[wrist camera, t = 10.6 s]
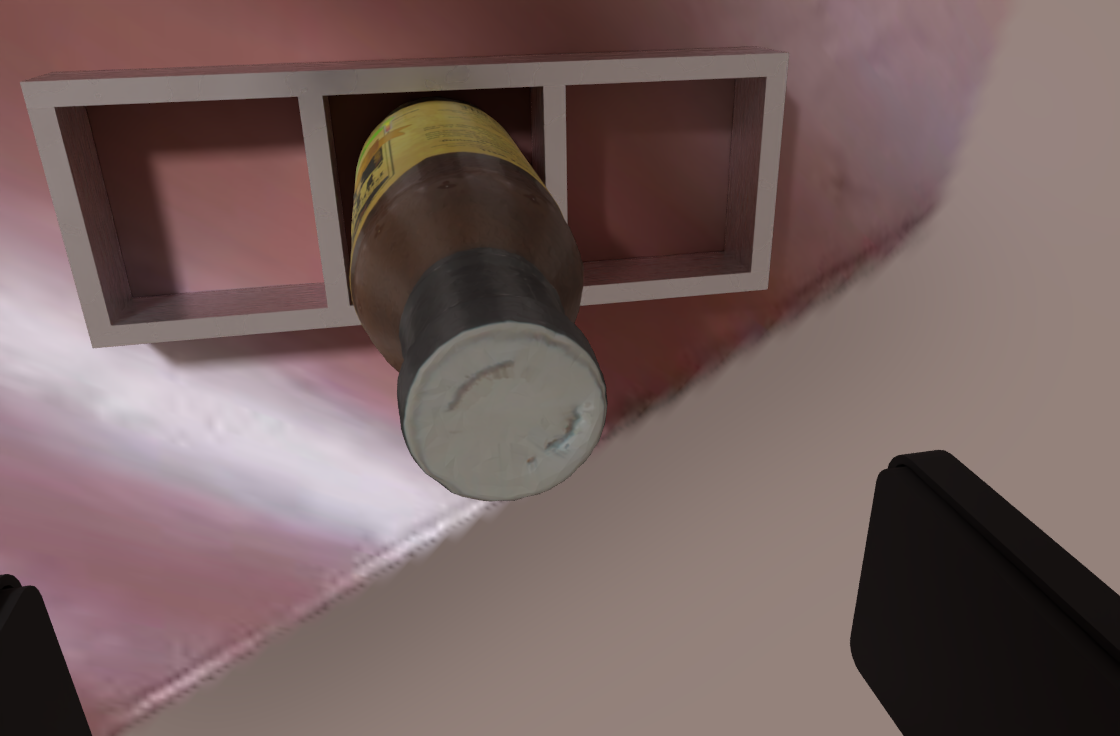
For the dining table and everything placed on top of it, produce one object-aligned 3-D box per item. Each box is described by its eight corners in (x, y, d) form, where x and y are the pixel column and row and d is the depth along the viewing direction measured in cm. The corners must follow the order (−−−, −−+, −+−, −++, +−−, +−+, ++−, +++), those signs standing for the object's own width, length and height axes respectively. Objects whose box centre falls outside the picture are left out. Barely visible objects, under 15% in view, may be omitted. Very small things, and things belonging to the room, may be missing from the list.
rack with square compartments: (52, 72, 30) (19, 81, 27) (756, 46, 34) (789, 52, 31) (115, 318, 33) (92, 348, 31) (740, 267, 38) (767, 289, 35)
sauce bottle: (343, 102, 32) (298, 260, 14) (507, 84, 33) (662, 210, 15) (373, 265, 35) (368, 569, 17) (524, 244, 35) (672, 512, 18)
